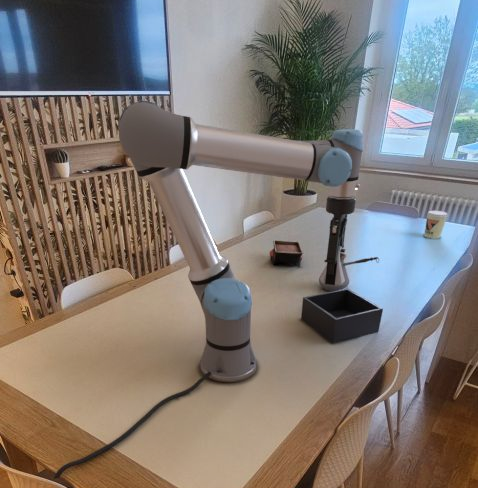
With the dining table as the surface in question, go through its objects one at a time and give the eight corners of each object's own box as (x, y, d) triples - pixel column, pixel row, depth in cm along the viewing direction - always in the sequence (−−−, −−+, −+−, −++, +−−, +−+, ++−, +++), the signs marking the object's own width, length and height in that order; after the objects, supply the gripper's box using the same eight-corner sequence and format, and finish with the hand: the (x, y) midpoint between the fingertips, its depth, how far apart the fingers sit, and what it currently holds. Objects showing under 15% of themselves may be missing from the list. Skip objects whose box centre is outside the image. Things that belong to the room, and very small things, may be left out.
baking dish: (302, 261, 198) (302, 238, 194) (303, 268, 181) (303, 244, 177) (270, 262, 199) (269, 239, 195) (269, 270, 183) (268, 245, 179)
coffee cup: (418, 235, 227) (423, 211, 220) (431, 233, 230) (437, 209, 224) (432, 240, 220) (438, 215, 213) (445, 237, 223) (452, 213, 216)
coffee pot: (312, 288, 166) (316, 250, 157) (326, 279, 173) (330, 242, 165) (365, 302, 155) (373, 262, 147) (377, 292, 163) (385, 253, 155)
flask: (344, 286, 123) (349, 252, 118) (318, 284, 125) (322, 250, 119) (345, 277, 129) (349, 243, 124) (320, 275, 131) (323, 242, 125)
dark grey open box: (332, 343, 130) (335, 319, 126) (300, 319, 144) (302, 297, 139) (378, 331, 137) (383, 308, 132) (344, 310, 150) (347, 288, 146)
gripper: (350, 206, 105) (339, 294, 118) (360, 189, 121) (350, 268, 133) (319, 204, 107) (312, 290, 120) (333, 188, 123) (326, 266, 136)
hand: (332, 279), depth 127 cm, fingers closed on flask, 7 cm apart
